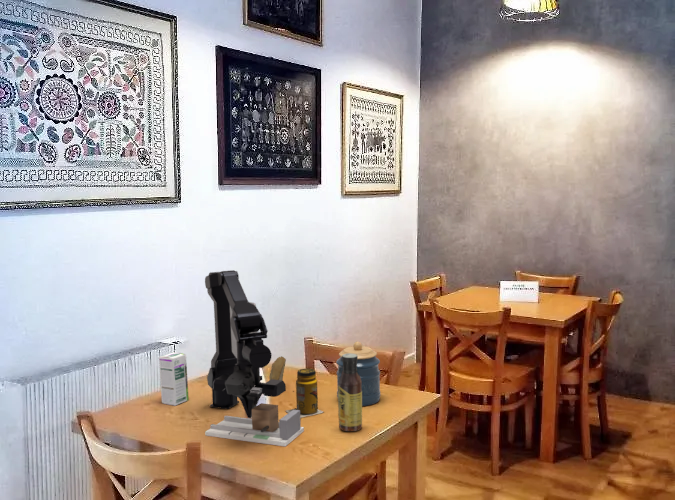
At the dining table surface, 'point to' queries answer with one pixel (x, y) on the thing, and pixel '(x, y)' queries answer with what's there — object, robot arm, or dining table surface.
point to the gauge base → (243, 430)
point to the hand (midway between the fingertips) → (250, 417)
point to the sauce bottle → (350, 395)
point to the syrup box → (173, 378)
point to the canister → (364, 372)
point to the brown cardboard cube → (265, 417)
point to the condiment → (306, 393)
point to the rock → (277, 369)
